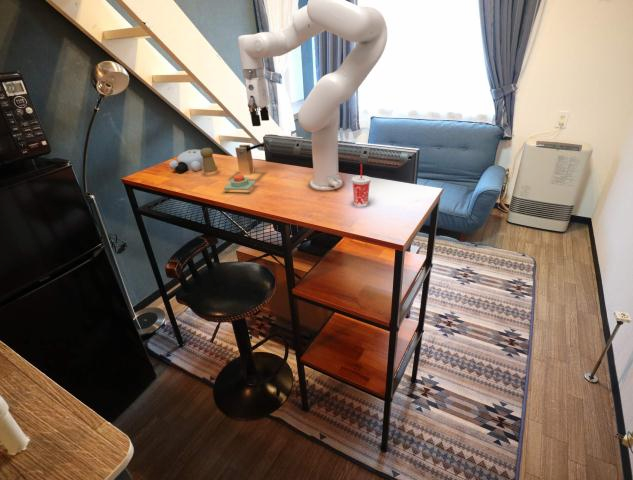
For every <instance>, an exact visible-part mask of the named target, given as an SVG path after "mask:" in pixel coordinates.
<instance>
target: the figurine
mask: <svg viewBox="0 0 633 480" xmlns="http://www.w3.org/2000/svg"><path fill="white" fill-rule="evenodd" d="M200 151H201V149H188V150H185V151H183V152H181V153H180V154H179V155H178V156H177V158H176V159H173V160H171V161H170V162H169V163H168V164H169V168H170V169H171V170H172V171H175V173H176V174H179V175H180V174H182V173H183V172H187V171H193V172H199V171H201V170H202V169H204V166H203V157H202V156H201V154H200Z"/></svg>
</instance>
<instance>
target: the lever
mask: <svg viewBox="0 0 633 480" xmlns="http://www.w3.org/2000/svg"><path fill="white" fill-rule="evenodd" d="M268 144H269V140H268V139H265V140H264V141H263V142H261V143H257V144H254V145H252V146H250V147H249V148H247V147H246V146H245V147H246V148H247V153H248V151H249V150H251V151H252V150H255V149H257V148H258V149H259V148H264V147H266V146H267V145H268Z"/></svg>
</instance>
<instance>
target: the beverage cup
mask: <svg viewBox="0 0 633 480" xmlns="http://www.w3.org/2000/svg"><path fill="white" fill-rule="evenodd" d="M351 183H352V192H353V193H352V194H353V205H354V206H355V207H357V208H363V207H367V206H368V205H369V194H370V183H371V177H370V176H367V175H363V163H360V175H355V176H352V178H351Z"/></svg>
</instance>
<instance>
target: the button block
mask: <svg viewBox="0 0 633 480" xmlns="http://www.w3.org/2000/svg"><path fill="white" fill-rule="evenodd" d="M256 183H257V181H256V180H249V178H248V177H246V176H244V181H240V182H235V180H234V177H233V178H231V179H230V181H229V183H227V184H226V185H225V186H224V187H223V190H225V191H224V194H242V195H243V194H245V195H249V194H251V192H249V191H250V190H251V189H252V188H253V187H254V185H255V184H256ZM243 191H245V192H243Z"/></svg>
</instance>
